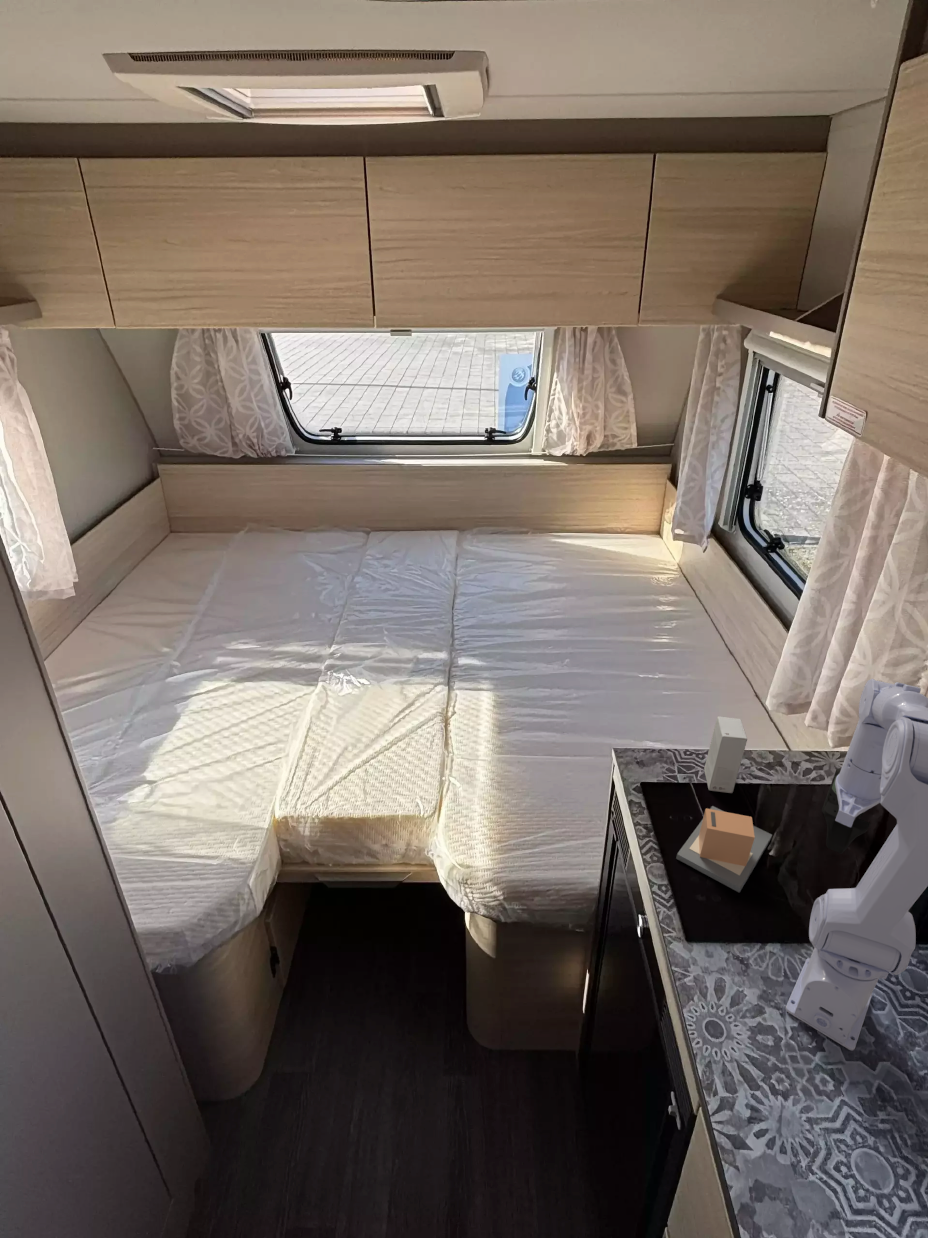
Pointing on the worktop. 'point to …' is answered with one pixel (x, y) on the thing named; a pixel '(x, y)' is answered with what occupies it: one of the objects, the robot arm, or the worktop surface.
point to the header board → (720, 870)
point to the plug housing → (726, 837)
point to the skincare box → (725, 754)
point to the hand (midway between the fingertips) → (841, 834)
